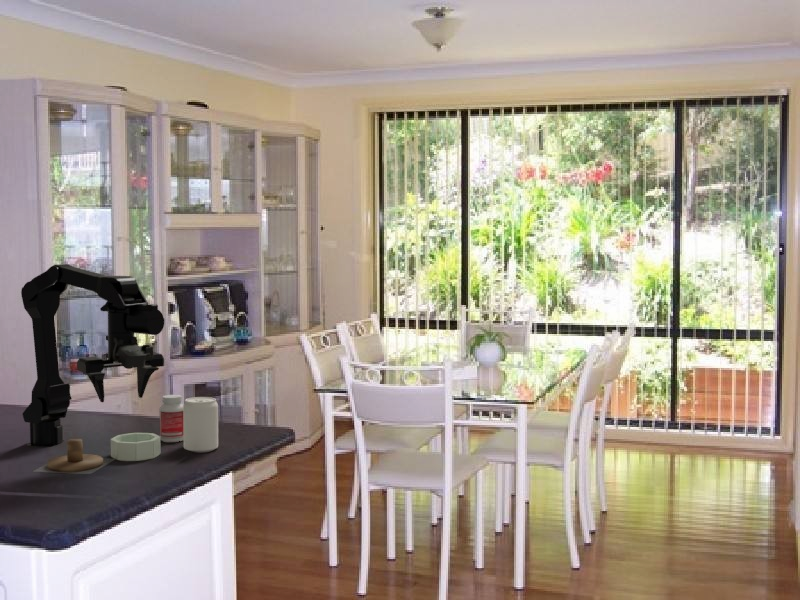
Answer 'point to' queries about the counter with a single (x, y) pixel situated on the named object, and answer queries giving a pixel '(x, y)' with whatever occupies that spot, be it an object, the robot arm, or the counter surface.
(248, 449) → the counter surface
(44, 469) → the mat
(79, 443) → the lid
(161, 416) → the pill bottle
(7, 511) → the counter surface
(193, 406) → the beverage can
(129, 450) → the bowl
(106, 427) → the counter surface
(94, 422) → the counter surface
